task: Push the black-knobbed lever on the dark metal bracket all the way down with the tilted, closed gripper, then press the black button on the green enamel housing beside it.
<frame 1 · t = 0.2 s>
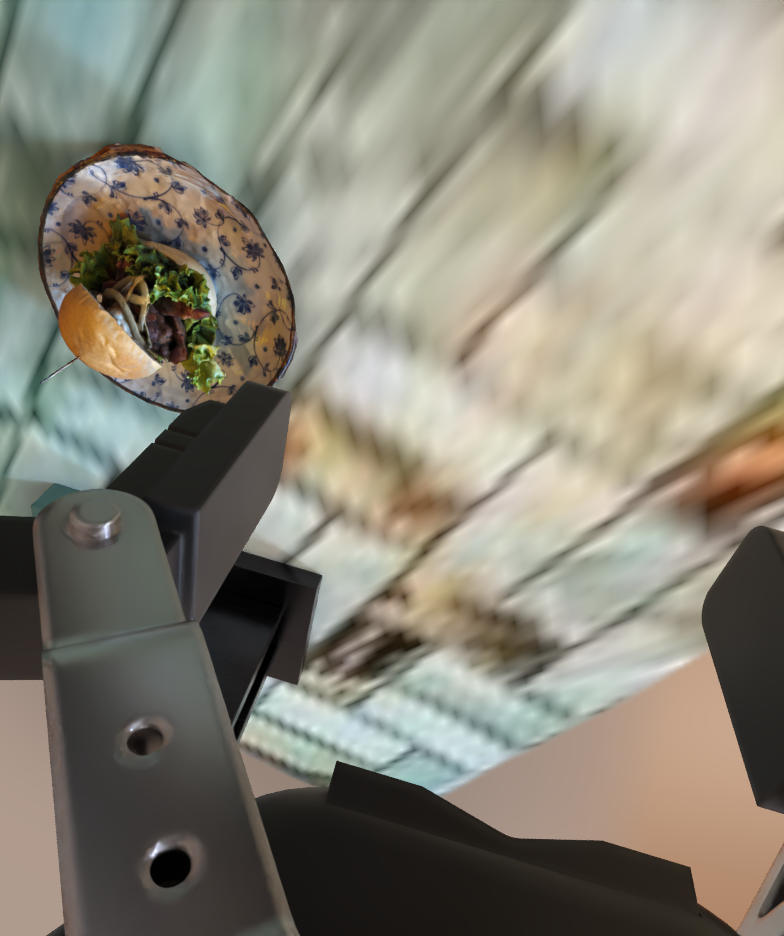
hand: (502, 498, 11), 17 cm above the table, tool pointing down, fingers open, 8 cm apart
bracket: (253, 608, 42), on the table
burger: (183, 282, 29), on the table
button box: (114, 556, 42), on the table
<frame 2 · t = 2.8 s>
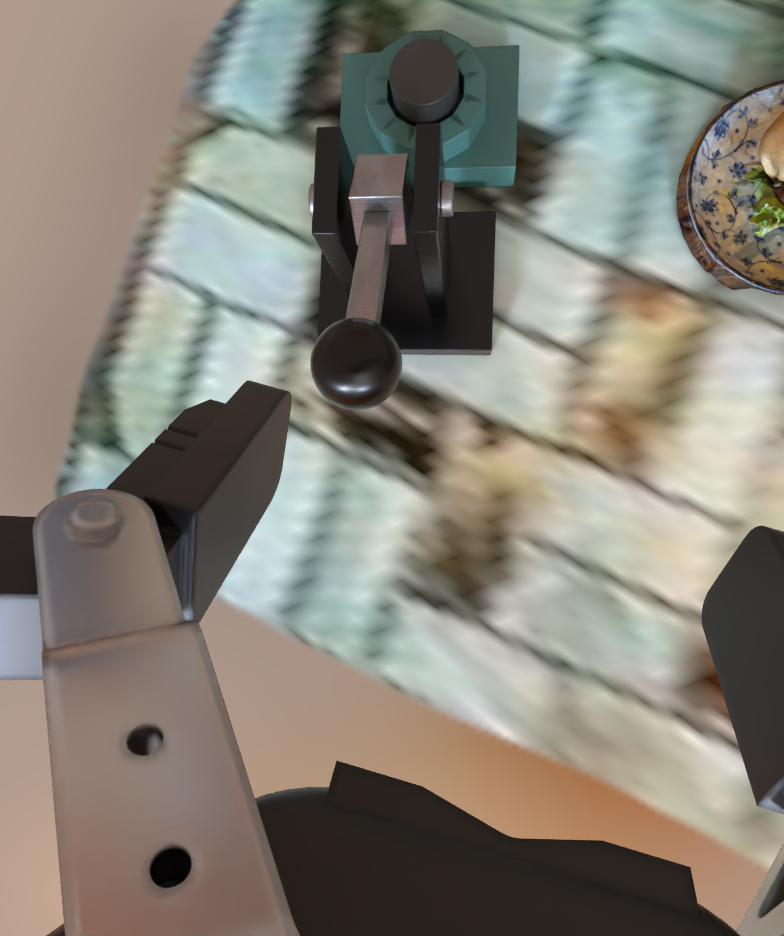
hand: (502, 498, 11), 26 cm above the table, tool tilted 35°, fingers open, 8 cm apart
bracket: (407, 287, 38), on the table
button: (424, 82, 34), point 4 cm above the table, slide at 0.1 cm
button box: (430, 131, 39), on the table
lever: (370, 276, 25), point 13 cm above the table, hinge at 28.0°
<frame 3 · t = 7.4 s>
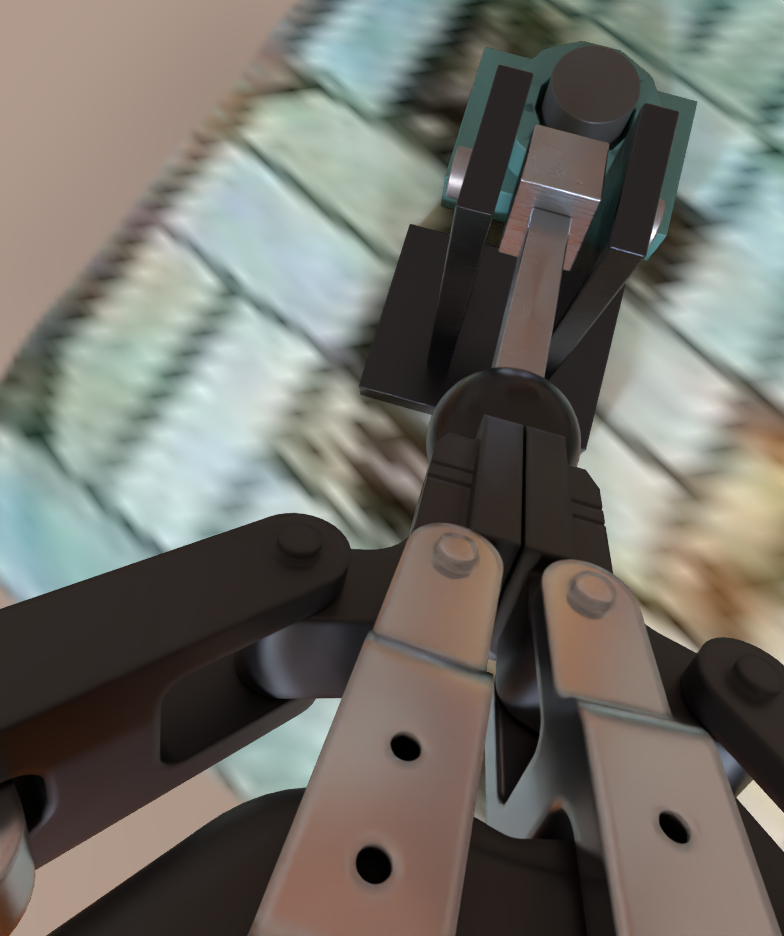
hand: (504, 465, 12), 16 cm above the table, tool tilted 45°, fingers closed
bracket: (490, 343, 29), on the table
button: (589, 99, 27), point 4 cm above the table, slide at 0.1 cm
button box: (560, 169, 31), on the table
lever: (530, 305, 16), point 13 cm above the table, hinge at 22.1°, touching gripper
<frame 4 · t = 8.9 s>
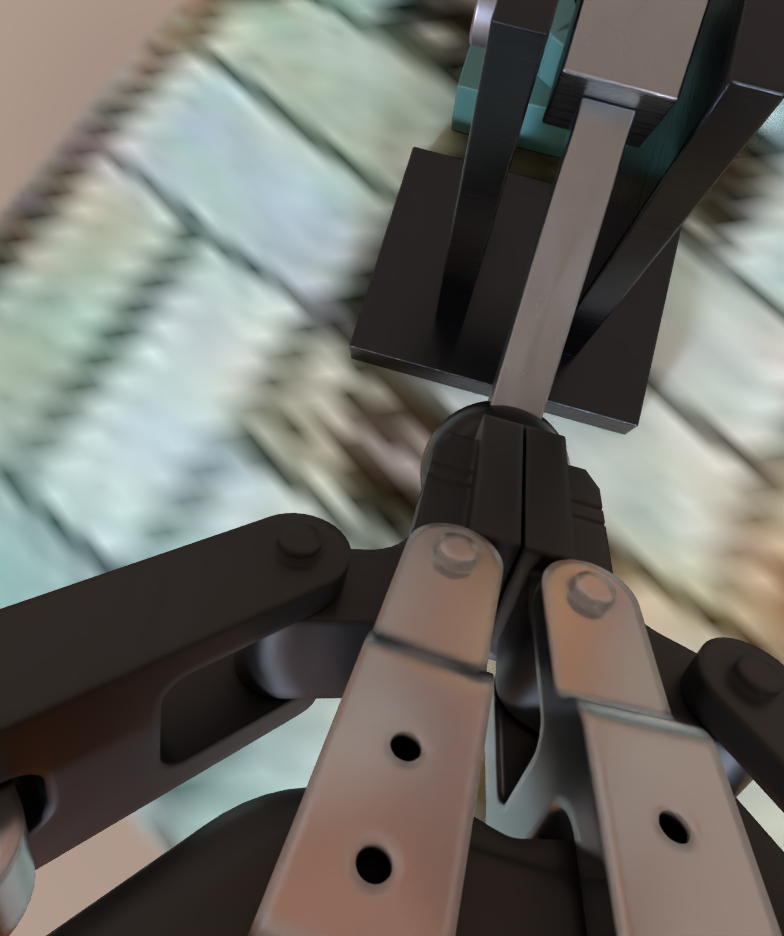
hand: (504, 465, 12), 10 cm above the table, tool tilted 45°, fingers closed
bracket: (514, 295, 24), on the table
button box: (596, 87, 25), on the table
lever: (555, 272, 13), point 10 cm above the table, hinge at -19.1°, touching gripper
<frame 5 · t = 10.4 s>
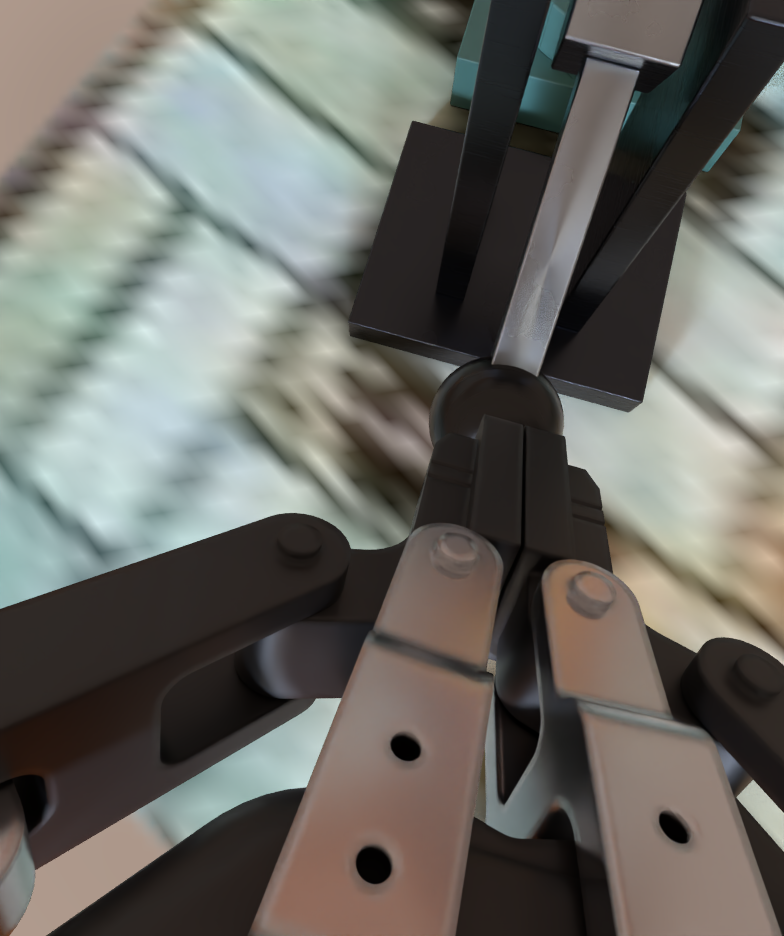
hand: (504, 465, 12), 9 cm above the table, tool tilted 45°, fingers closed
bracket: (515, 272, 23), on the table
button box: (597, 62, 25), on the table
lever: (555, 234, 14), point 9 cm above the table, hinge at -32.6°
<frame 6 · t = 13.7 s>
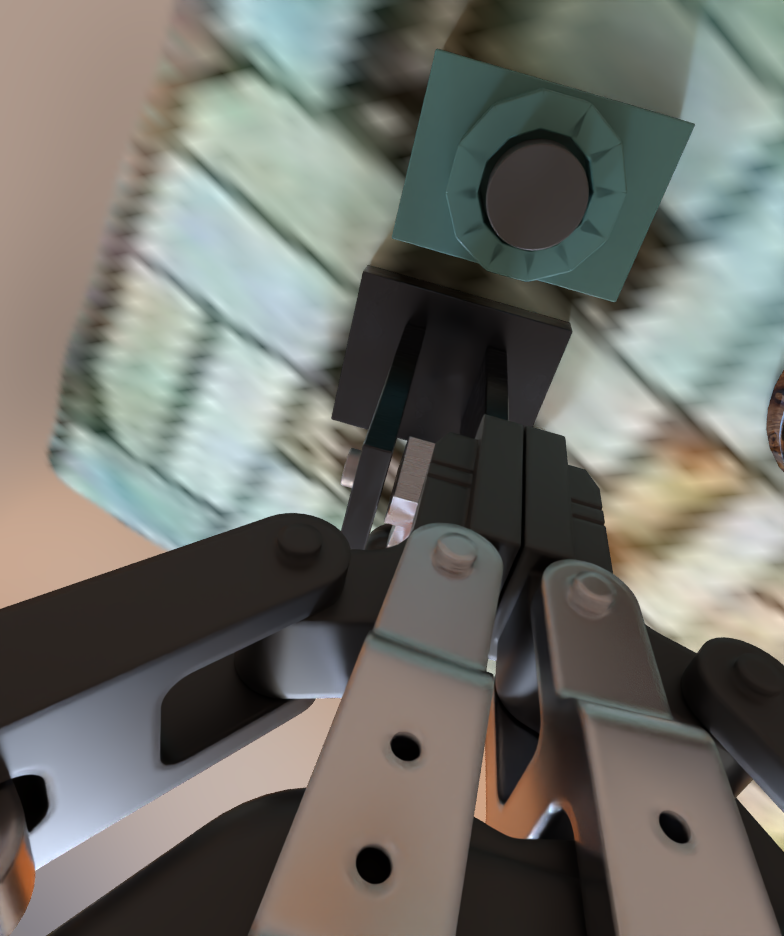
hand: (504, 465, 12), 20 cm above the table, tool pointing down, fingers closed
bracket: (445, 368, 33), on the table
button: (535, 195, 24), point 4 cm above the table, slide at 0.1 cm
button box: (530, 177, 28), on the table
lever: (406, 527, 28), point 9 cm above the table, hinge at -32.6°
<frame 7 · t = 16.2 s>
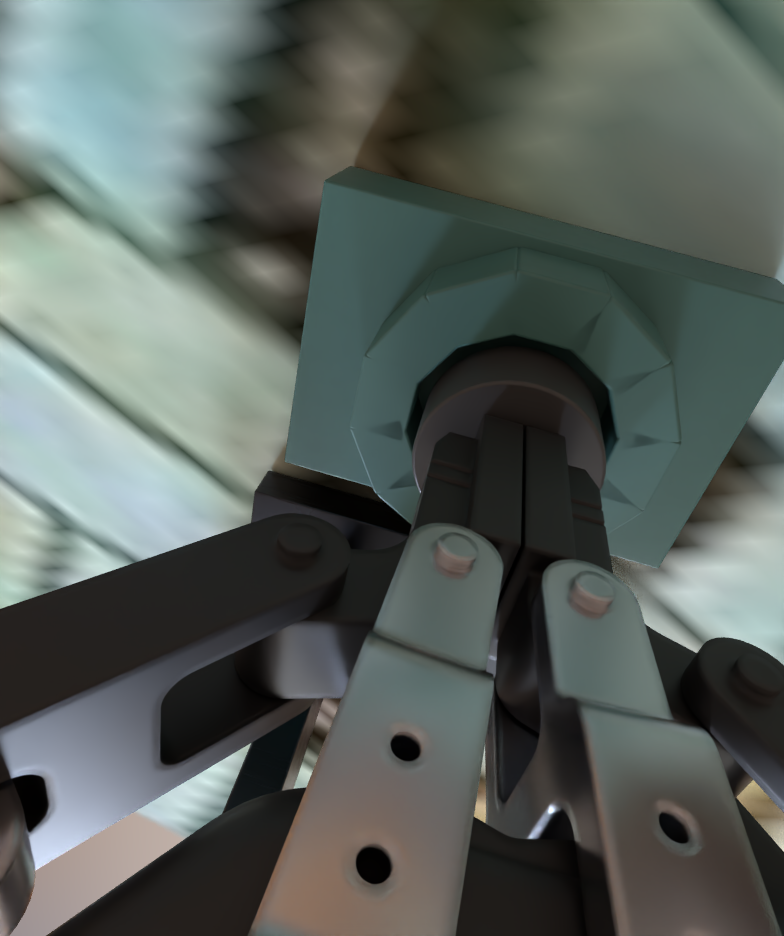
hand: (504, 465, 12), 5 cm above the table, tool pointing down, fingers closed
bracket: (397, 605, 22), on the table
button: (507, 446, 13), point 4 cm above the table, slide at 0.1 cm, touching gripper
button box: (513, 360, 17), on the table
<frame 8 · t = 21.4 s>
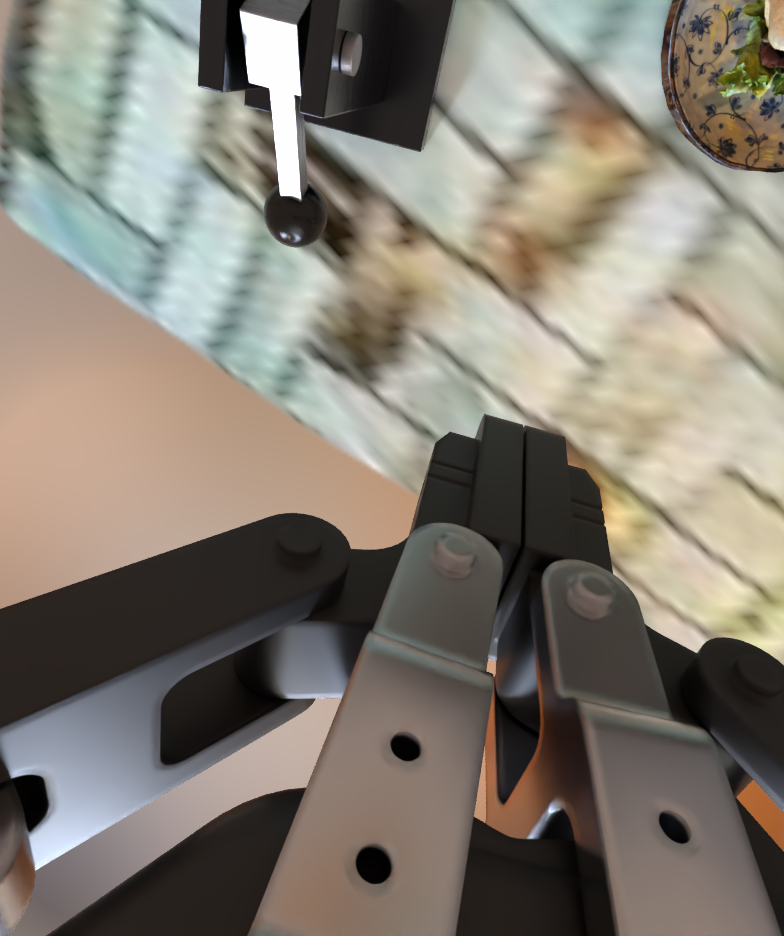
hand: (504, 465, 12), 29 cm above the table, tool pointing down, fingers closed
bracket: (349, 43, 34), on the table
lever: (290, 139, 29), point 9 cm above the table, hinge at -32.6°
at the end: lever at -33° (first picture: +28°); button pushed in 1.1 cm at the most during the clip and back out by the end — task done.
